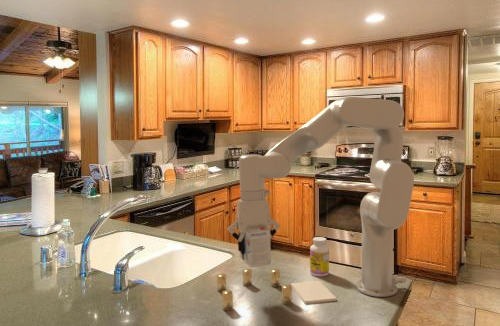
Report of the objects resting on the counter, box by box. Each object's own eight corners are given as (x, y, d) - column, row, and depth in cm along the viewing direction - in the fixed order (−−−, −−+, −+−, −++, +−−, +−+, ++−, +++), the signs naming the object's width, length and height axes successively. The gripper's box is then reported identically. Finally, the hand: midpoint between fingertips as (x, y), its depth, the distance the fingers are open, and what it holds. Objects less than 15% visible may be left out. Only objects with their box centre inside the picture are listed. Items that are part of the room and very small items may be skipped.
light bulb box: (239, 257, 129) (237, 224, 128) (258, 254, 131) (257, 221, 130) (251, 268, 119) (249, 232, 118) (272, 264, 121) (271, 229, 120)
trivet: (319, 282, 136) (319, 280, 136) (336, 300, 123) (336, 298, 123) (291, 285, 135) (291, 283, 134) (304, 303, 121) (304, 301, 121)
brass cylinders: (276, 280, 139) (276, 266, 139) (293, 304, 121) (293, 288, 120) (215, 285, 135) (215, 271, 135) (223, 311, 117) (222, 294, 116)
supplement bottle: (306, 273, 146) (306, 238, 144) (319, 269, 149) (319, 235, 148) (319, 278, 140) (319, 242, 139) (332, 274, 144) (333, 239, 143)
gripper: (277, 191, 128) (278, 245, 130) (222, 195, 125) (225, 250, 127) (283, 195, 121) (285, 252, 123) (226, 199, 118) (228, 258, 119)
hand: (254, 251), depth 125 cm, fingers closed on light bulb box, 7 cm apart
